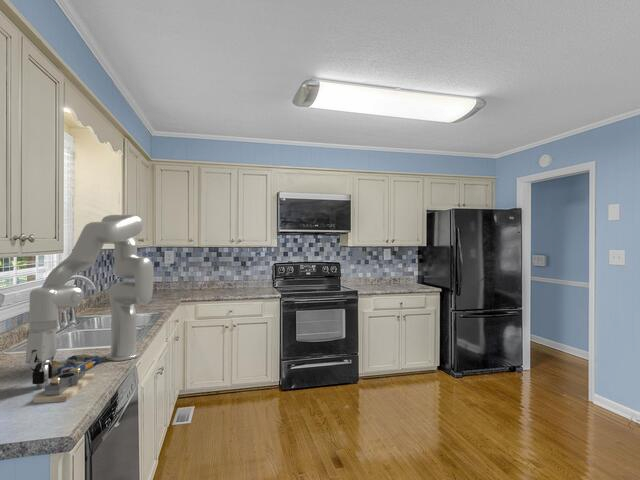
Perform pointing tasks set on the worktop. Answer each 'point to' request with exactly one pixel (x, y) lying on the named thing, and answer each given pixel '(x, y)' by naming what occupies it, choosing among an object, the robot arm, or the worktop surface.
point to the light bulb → (45, 369)
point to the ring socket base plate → (64, 386)
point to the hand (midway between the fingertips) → (42, 380)
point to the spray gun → (76, 363)
